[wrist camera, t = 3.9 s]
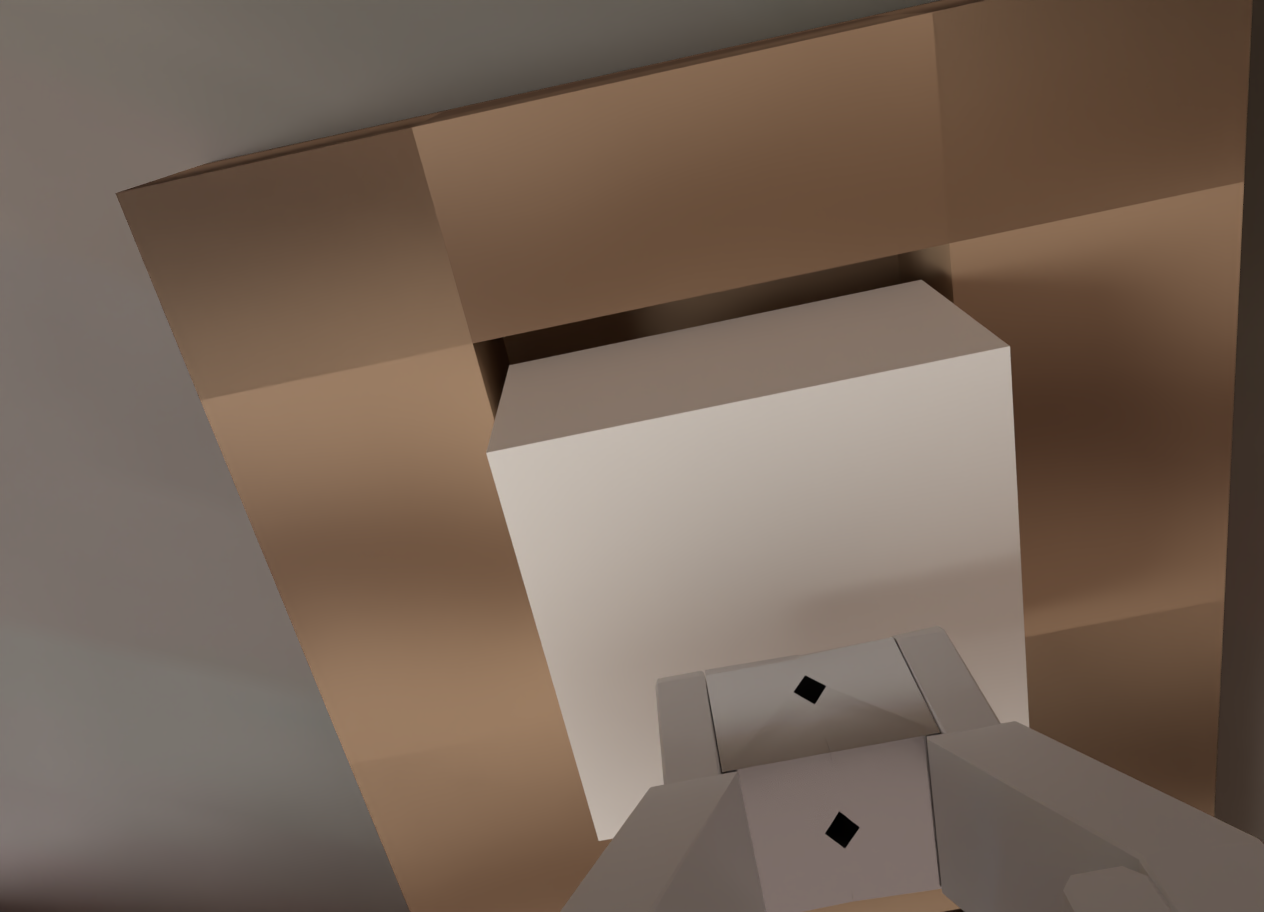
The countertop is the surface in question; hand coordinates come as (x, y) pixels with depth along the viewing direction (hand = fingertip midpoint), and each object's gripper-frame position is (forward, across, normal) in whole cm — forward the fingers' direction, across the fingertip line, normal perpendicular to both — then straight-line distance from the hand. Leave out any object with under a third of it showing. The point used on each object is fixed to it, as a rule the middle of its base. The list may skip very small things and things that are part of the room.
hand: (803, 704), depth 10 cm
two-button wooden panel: (+7, 0, +6) cm, 9 cm away
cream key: (+4, 0, 0) cm, 4 cm away
